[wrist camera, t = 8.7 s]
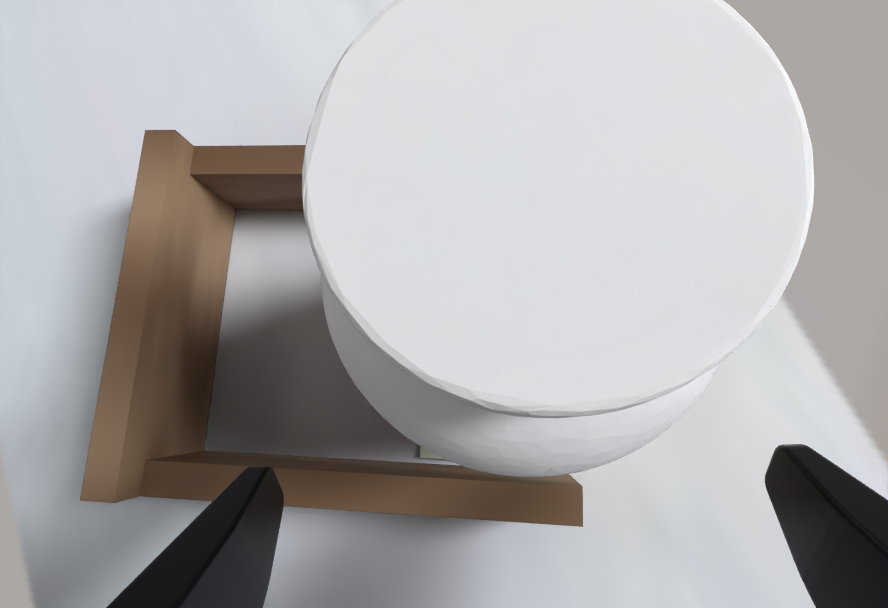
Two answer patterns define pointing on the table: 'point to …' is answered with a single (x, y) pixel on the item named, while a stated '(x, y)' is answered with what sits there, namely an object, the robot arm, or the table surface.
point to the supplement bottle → (551, 218)
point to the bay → (194, 354)
